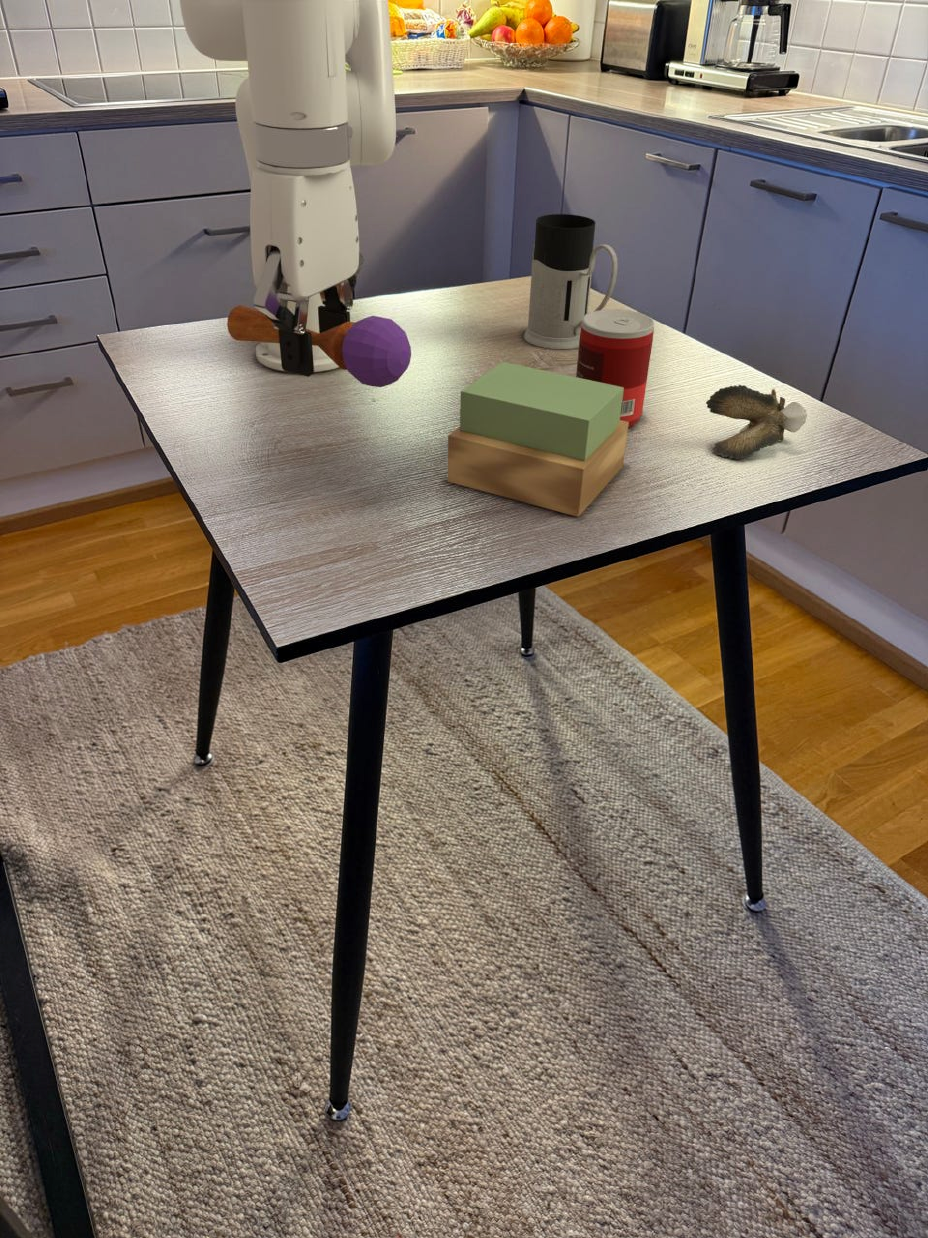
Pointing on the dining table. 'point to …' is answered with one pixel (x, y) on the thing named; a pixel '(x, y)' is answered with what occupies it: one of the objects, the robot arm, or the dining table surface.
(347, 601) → the dining table surface
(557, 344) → the glass holder
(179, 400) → the dining table surface
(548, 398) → the sage block
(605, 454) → the maple block
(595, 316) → the canned food
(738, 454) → the eagle figurine
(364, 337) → the purple wooden maraca
